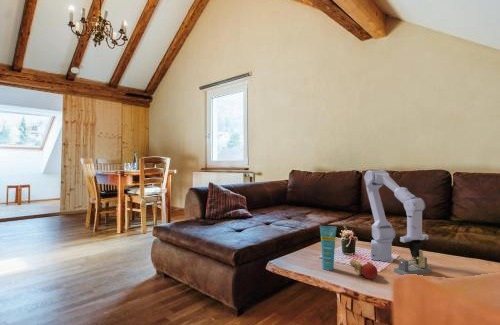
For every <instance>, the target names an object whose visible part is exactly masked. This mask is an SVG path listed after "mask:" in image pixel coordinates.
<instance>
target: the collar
mask: <svg viewBox="0 0 500 325" xmlns="http://www.w3.org/2000/svg"><path fill="white" fill-rule="evenodd" d="M425 257H426V256H424V251H423V250H422V249H420V250H419V253H418V256H417V258H414V257H412V256H411V260H412V259H419V263H415V264H411V265H414V266H416V267H419V268H424V267H425Z"/></svg>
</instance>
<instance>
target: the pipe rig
mask: <svg viewBox="0 0 500 325" xmlns="http://www.w3.org/2000/svg"><path fill="white" fill-rule="evenodd" d="M424 257H425V267H424V268H419V267H416V266H414V265H412V264H415V263H419V259H412V258H411V259H404V258H398V267H395V268H393V272H394V273H395V274H398V275H399V276H402V275H404V274H418V275H417V276H419V275H423V274H427V273H428V274H429V273H432V272H431V271H432V270H433V269H432V268H431V267H429V266H428V258H427V257H426V256H424Z"/></svg>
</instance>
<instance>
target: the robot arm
mask: <svg viewBox="0 0 500 325" xmlns="http://www.w3.org/2000/svg"><path fill="white" fill-rule="evenodd" d="M363 179H364V184H365V188H366V189H365V190H366V192H367V197H368V201H369V204H370V208H371V213H372V216H373V219H374V220H373V221H374V223H372V224H371V226H370V227H371V237H372V238H373V239H371V241H370V243H371V244H370V259H371V260H372V259H373V261H379V260H380V262H381V261H382V262H386V263H387V262H388V263H393V261H394V260H393V256H392V254H393V253H392V252H393V251H392V250H393V248H392V244H393V242H394V239H395V238H396V231H395V229H394V228H393V225H392V223H391V222H390V221H388V219H387V218H386V215H385V214H386V213H385V209H384V205H383V202H382V198H381V195H380V191H379V189H380V188H381V187H382V186H383V185H385V186H386V187H387V188H388V189H390V190H391V191H392V192H393V193H394V194H393V195H394V198H396V199H397V200H398V201H399V202H401V203H402V204H403V208H404V210H405V212H406V213H405V214H406V216H407V217H406V235H402V236H400V237H399V238H400V239H399V241H400V242H401V243H406V244H407V246H408V248H409V251H410V255H411V258H412V257H414V258H417V256H418V253H419V250H421V248H422V247H423V245H424V241H423V240H429V234H425V233H423V211H424V210H425V209H426V203H425V201H424V199H423V198H421V197H417V196H416V195H415V194H413V193H412V192H410V191H409V190H408V188H407V187H404V186H401V187H400V186H399V184H398V183H396V181H395V180H394V179H393V178H392V177H391V176H390V173H389V172H387V171H386V170H385V169H381V170H379V169H378V170H377V169H376V170H372V169H371V170H370V169H368V170H367V171H366V172H365V174H364V176H363Z"/></svg>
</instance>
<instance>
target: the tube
mask: <svg viewBox="0 0 500 325" xmlns="http://www.w3.org/2000/svg"><path fill="white" fill-rule="evenodd" d="M319 232H320V242H321V264H322V267H321V268H322V269H323V270H326V271H332V270H334V267H335V266H334V265H335V248H336V235H337V226H334V225H333V226H329V225H328V226H327V225H319Z"/></svg>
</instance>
